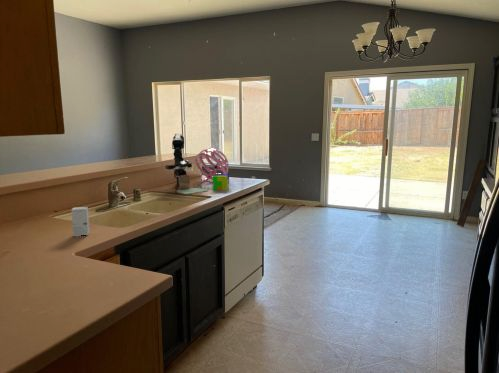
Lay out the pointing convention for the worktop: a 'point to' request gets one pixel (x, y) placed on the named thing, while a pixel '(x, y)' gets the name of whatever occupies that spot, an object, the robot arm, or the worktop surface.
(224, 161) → the spiral basket
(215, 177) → the puzzle toy
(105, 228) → the worktop surface
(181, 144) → the robot arm
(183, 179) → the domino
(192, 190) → the mat
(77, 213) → the skincare box
